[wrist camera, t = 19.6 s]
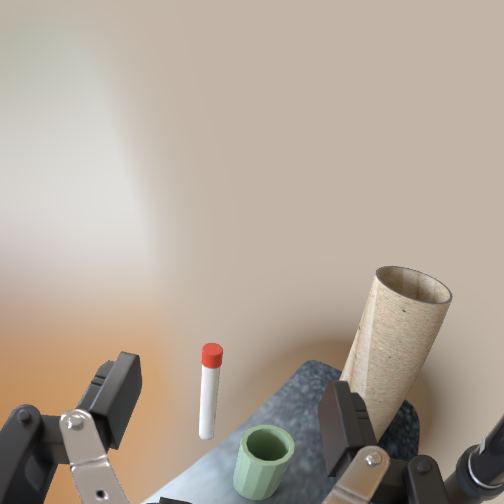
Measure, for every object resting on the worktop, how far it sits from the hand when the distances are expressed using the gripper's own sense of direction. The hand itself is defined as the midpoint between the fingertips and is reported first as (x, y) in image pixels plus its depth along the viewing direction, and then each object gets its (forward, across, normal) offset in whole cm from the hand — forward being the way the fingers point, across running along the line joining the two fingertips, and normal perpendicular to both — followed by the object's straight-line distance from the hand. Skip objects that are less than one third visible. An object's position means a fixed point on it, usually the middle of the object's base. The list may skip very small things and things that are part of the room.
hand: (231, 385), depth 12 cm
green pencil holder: (+10, -5, +28) cm, 30 cm away
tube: (+21, -20, +28) cm, 40 cm away
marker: (+17, +2, +28) cm, 33 cm away
